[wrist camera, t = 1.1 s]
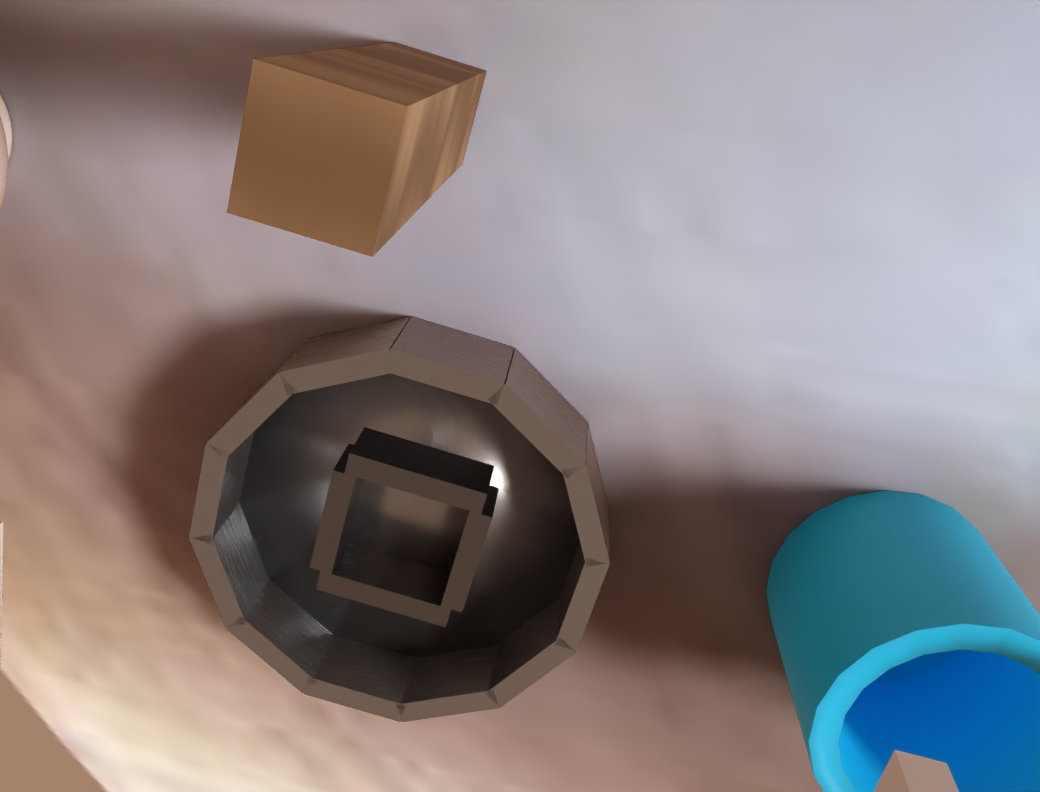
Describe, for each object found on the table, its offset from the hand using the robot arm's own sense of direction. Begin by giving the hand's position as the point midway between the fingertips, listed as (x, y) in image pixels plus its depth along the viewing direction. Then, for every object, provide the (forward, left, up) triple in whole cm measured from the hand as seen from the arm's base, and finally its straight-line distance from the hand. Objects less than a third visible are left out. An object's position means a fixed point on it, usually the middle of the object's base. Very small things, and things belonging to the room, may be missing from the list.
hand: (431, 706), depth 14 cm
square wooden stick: (-6, -5, -20) cm, 22 cm away
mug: (+7, +17, -21) cm, 28 cm away
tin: (+8, -2, -20) cm, 22 cm away
